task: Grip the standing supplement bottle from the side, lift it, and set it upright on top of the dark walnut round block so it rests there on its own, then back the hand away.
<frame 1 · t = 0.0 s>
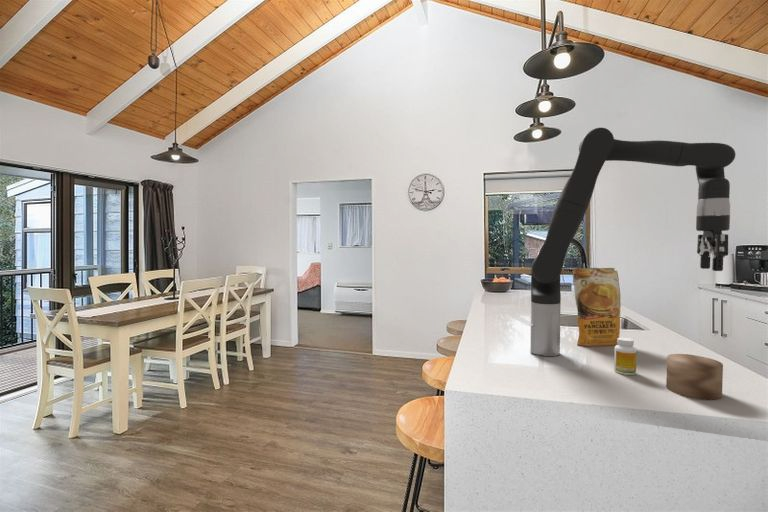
hand: (711, 269, 114), 29 cm above the countertop, tool pointing down, fingers open, 8 cm apart
pancake mix bag: (596, 344, 142), on the countertop
supplement bottle: (624, 373, 112), on the countertop
walnut block: (693, 391, 98), on the countertop
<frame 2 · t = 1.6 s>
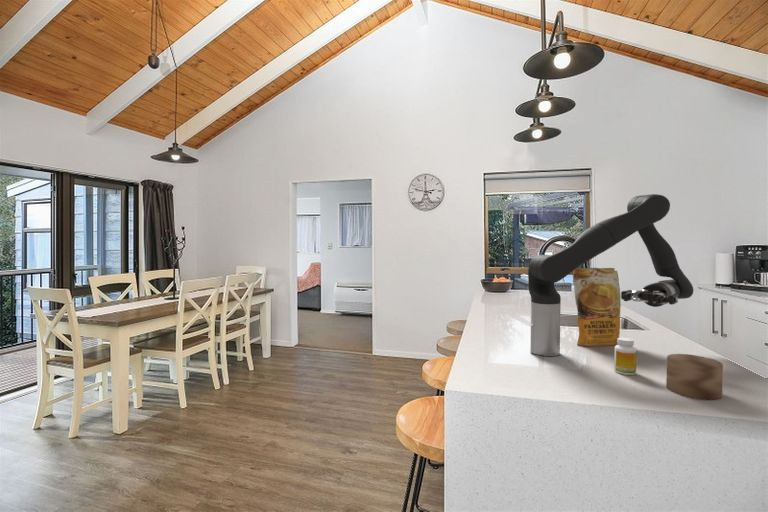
hand: (640, 299, 118), 20 cm above the countertop, tool horizontal, fingers open, 8 cm apart
nothing on the countertop moved.
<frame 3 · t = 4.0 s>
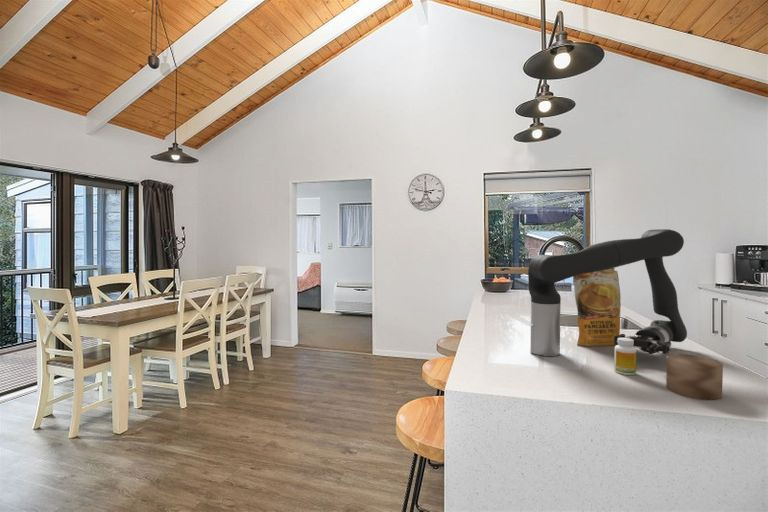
hand: (633, 347, 116), 6 cm above the countertop, tool horizontal, fingers open, 8 cm apart
nothing on the countertop moved.
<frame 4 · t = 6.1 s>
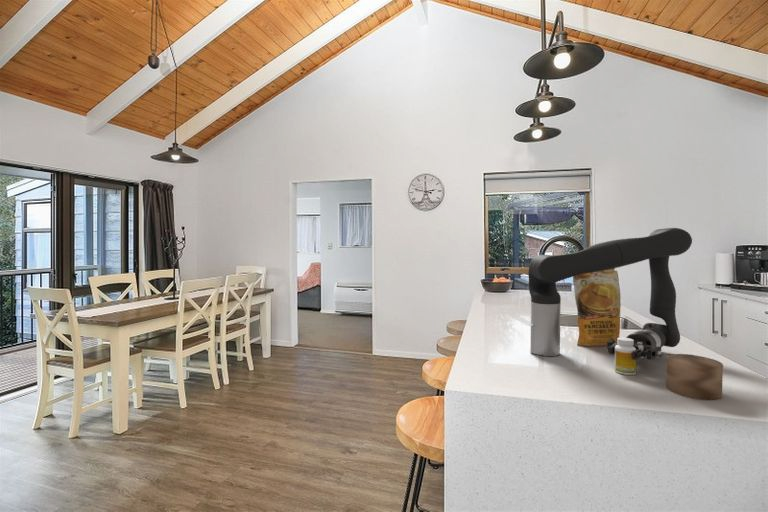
hand: (621, 353, 110), 6 cm above the countertop, tool horizontal, fingers closed on supplement bottle, 5 cm apart
supplement bottle: (624, 372, 112), on the countertop, touching gripper
everything else where it was.
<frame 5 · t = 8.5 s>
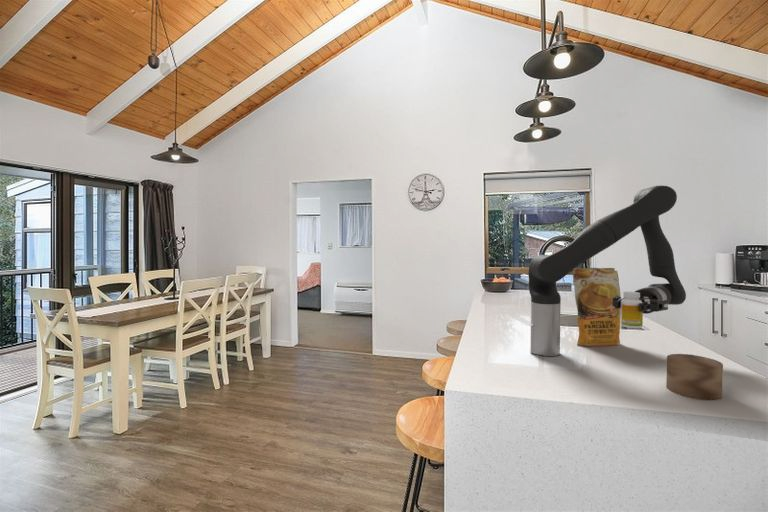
hand: (628, 306, 108), 20 cm above the countertop, tool horizontal, fingers closed on supplement bottle, 5 cm apart
supplement bottle: (631, 327, 110), point 13 cm above the countertop, touching gripper
everything else where it was.
when the fingers open (15 cm above the countertop, at t = 10.9 s): supplement bottle drops 1 cm, point 8 cm above the countertop.
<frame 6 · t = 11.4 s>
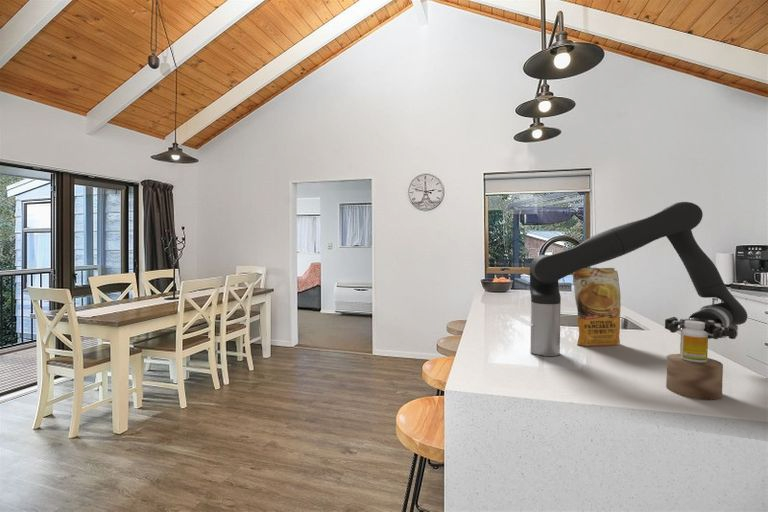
hand: (692, 331, 96), 16 cm above the countertop, tool horizontal, fingers open, 8 cm apart
supplement bottle: (693, 360, 98), point 8 cm above the countertop
everything else where it was.
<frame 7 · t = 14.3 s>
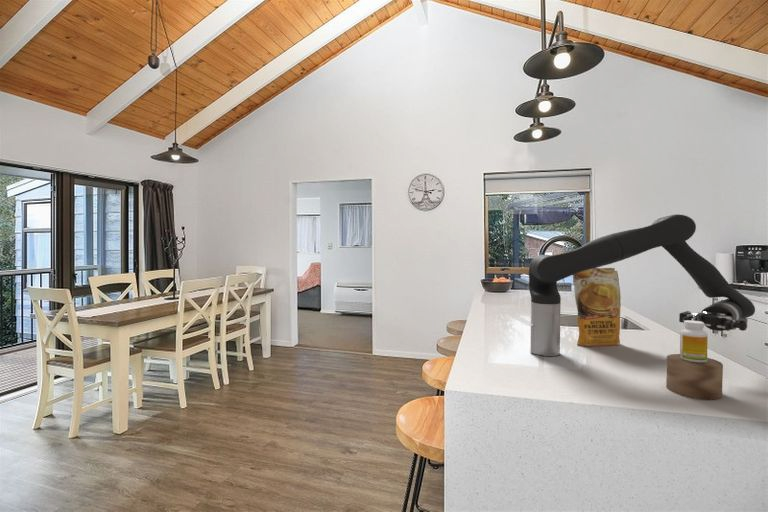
hand: (706, 324, 104), 16 cm above the countertop, tool horizontal, fingers open, 8 cm apart
supplement bottle: (693, 360, 98), point 8 cm above the countertop, touching walnut block
walnut block: (693, 391, 98), on the countertop, touching supplement bottle
everything else where it was.
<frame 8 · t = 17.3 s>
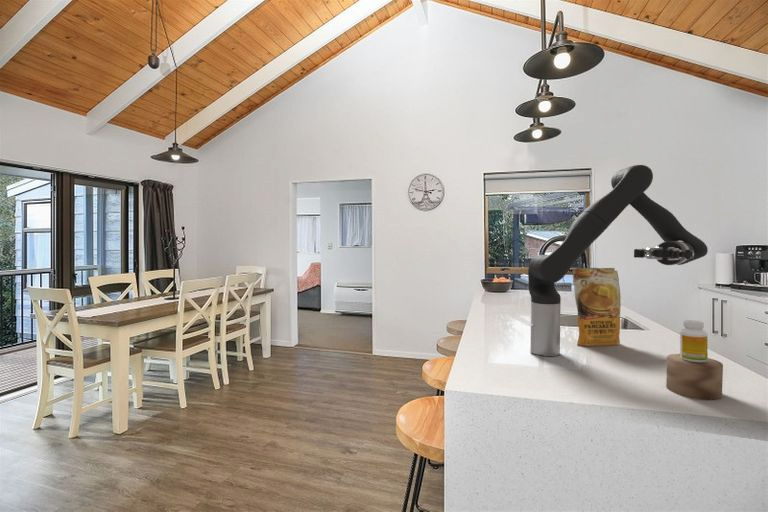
hand: (655, 254, 112), 34 cm above the countertop, tool horizontal, fingers open, 8 cm apart
nothing on the countertop moved.
at the end: supplement bottle 0.2 cm off-centre on the walnut block, point 7.9 cm above the walnut block's base; supplement bottle tilted 1°; the gripper is holding nothing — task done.
